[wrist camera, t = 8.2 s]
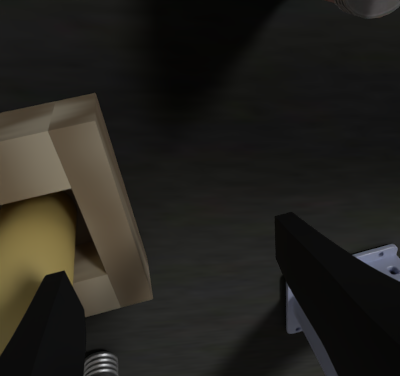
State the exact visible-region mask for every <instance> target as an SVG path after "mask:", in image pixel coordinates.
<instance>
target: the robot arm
mask: <svg viewBox="0 0 400 376" xmlns="http://www.w3.org/2000/svg"><path fill="white" fill-rule="evenodd" d="M275 246H276V260H277V262H278V264H279V267H280V269H281V271H282V274H283V276H284V278H285V280H286V330H287V332H288V333H289V334H293V333H297V332H300V331H303V332H304V334H305V336H306V338H307V340H308V342H309V344H310V346H311V348H312V350H313V352H314V354H315V356H316V357H317V359H318V361H319V363H320V365H321V367H322V369H323V371H324V373H325V375H326V376H400V259H399V257H398V256H397V255H396V254H397V247H396V246H395V245H394V244H389V245H386V246H382V247H379V248H375V249H371V250H368V251H364V252H360V253H357V254H353V255H352V254H350V253H348V252H347V251H345V250H344V249H342V248H341V247H339V246H338V245H336V244H335V243H334V242H332V241H331V240H329V239H328V238H326V237H325V236H323V235H322V234H321V233H319V232H318V231H317V230H315V229H314V228H313V227H311V226H310V225H309V224H307V223H306V222H305V221H303V220H302V219H301V218H299V217H298V216H296V215H295V214H294V213H292V212H290V213H286V214H282V215H278V216H275ZM85 348H86V327H85V311H84V308H83V306H82V304H81V302H80V300H79V298H78V296H77V294H76V292H75V290H74V288H73V286H72V284H71V282H70V280H69V278H68V276H67V274H66V272H65V270H64V271H60V272H56V273H52V274H48V275H45V277H44V278H43V280H42V282H41V284H40V286H39V288H38V290H37V292H36V294H35V296H34V298H33V299H32V301H31V303H30V305H29V307H28V309H27V311H26V313H25V314H24V316H23V318H22V320H21V322H20V323H19V325H18V327H17V329H16V330H15V332H14V334H13V336H12V337H11V339H10V341H9V343H8V344H7V346H6V347H5V349H4V351H3V352H2V354H1V355H0V376H84V363H85Z"/></svg>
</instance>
